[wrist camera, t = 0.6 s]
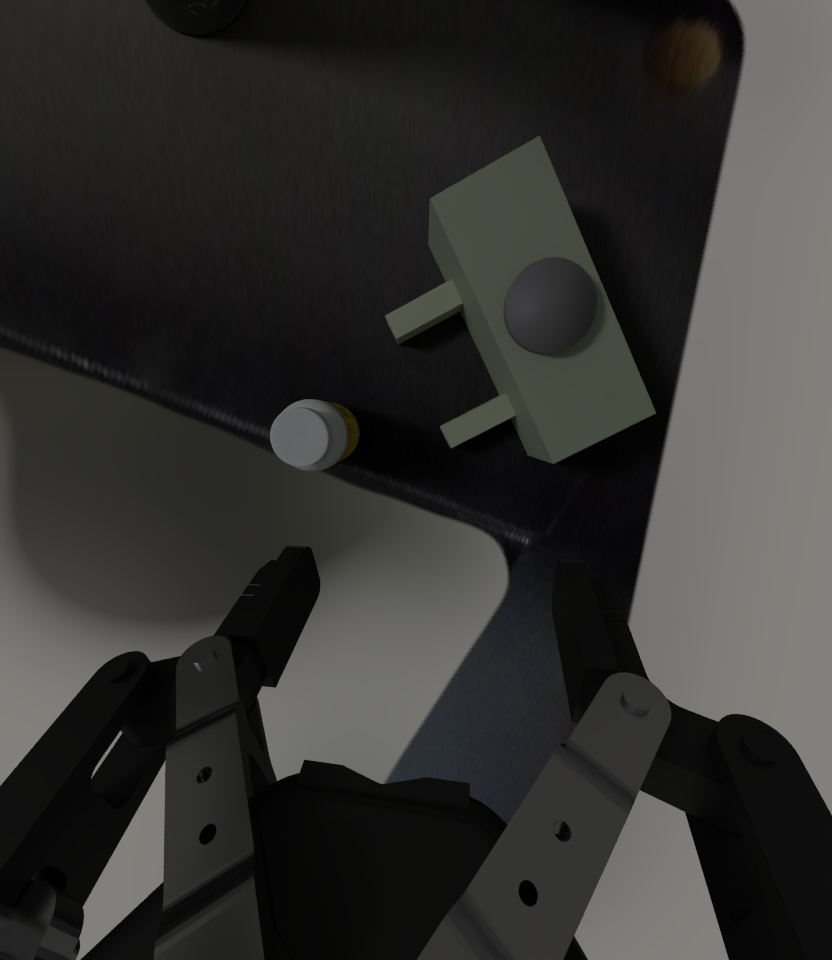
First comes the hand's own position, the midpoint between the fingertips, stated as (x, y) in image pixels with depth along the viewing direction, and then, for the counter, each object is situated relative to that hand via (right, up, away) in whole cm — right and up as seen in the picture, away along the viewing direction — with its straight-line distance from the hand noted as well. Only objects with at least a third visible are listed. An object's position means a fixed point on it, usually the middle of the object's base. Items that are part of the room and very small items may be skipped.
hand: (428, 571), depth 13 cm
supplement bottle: (-8, +7, +23) cm, 25 cm away
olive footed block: (+6, +15, +21) cm, 27 cm away
